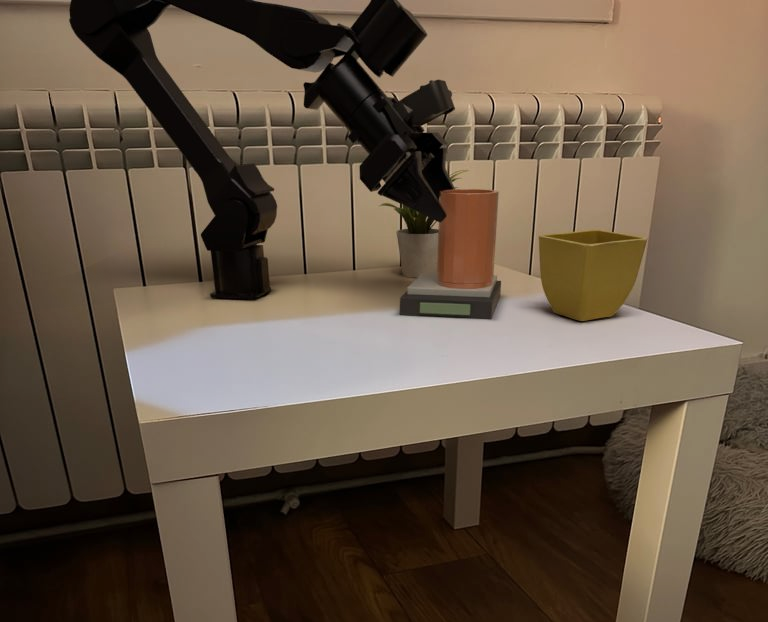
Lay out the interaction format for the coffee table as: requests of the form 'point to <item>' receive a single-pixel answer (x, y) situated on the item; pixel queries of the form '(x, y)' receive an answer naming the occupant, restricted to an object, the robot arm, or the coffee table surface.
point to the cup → (467, 238)
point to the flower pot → (589, 271)
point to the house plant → (418, 241)
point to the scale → (449, 299)
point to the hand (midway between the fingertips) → (452, 215)
